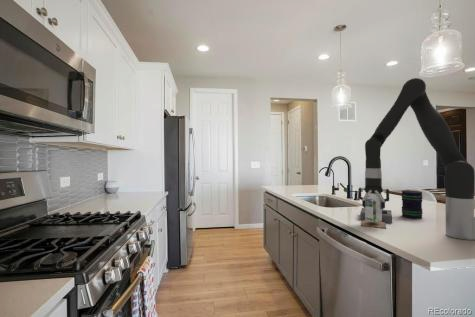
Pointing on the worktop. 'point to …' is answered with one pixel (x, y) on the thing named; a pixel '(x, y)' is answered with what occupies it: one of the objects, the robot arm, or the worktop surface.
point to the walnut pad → (373, 224)
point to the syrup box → (373, 208)
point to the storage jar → (412, 204)
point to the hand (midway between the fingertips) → (373, 208)
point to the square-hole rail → (385, 215)
